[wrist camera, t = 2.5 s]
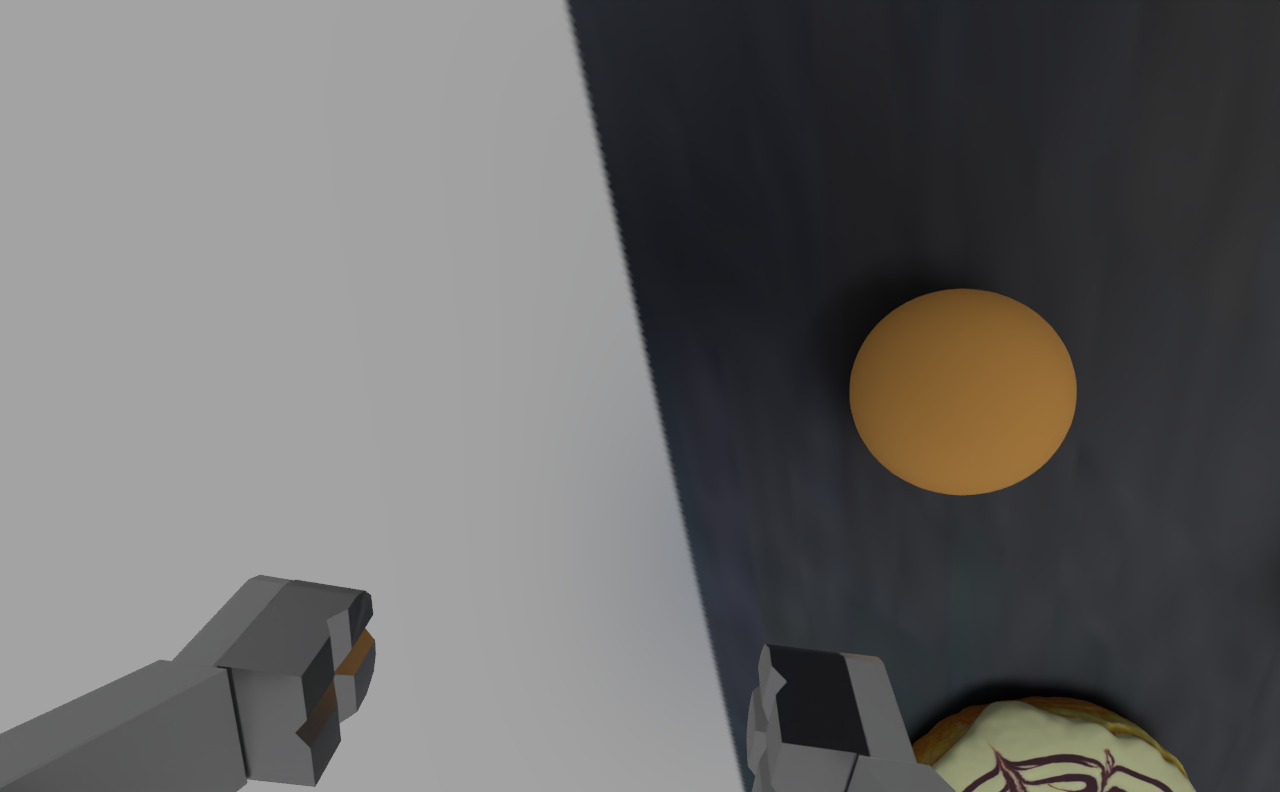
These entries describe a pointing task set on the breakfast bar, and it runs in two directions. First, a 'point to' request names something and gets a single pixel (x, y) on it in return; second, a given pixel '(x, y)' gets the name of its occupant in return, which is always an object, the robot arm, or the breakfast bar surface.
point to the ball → (963, 391)
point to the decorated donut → (1047, 750)
